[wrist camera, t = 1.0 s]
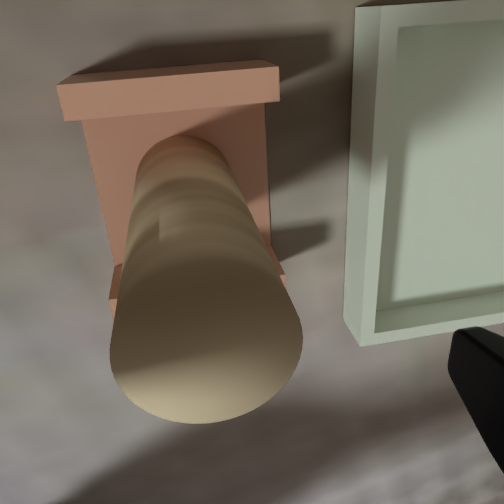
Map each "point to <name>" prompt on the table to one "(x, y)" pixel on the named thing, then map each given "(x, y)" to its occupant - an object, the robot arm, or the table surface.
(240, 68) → the cradle
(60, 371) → the table surface
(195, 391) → the dowel
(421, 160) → the tray
